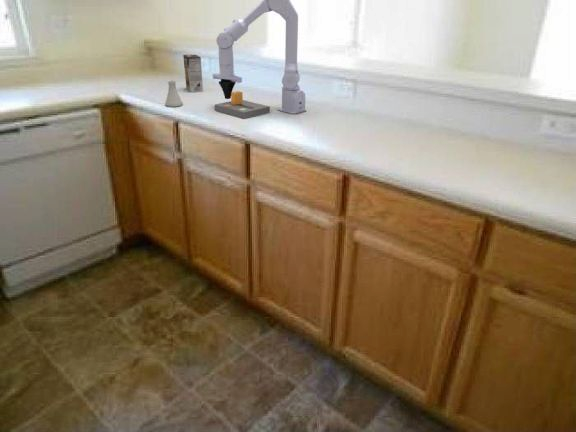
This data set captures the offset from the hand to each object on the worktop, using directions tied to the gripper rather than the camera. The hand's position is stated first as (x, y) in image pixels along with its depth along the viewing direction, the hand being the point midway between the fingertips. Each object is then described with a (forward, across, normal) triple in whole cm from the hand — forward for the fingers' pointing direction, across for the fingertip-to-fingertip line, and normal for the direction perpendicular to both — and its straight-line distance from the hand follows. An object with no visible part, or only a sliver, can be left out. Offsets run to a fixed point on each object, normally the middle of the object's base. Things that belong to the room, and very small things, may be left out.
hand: (227, 98), depth 186 cm
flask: (+4, +21, +11) cm, 24 cm away
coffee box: (+4, +37, -16) cm, 41 cm away
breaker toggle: (+1, -6, +1) cm, 6 cm away
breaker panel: (+4, -9, +1) cm, 10 cm away
